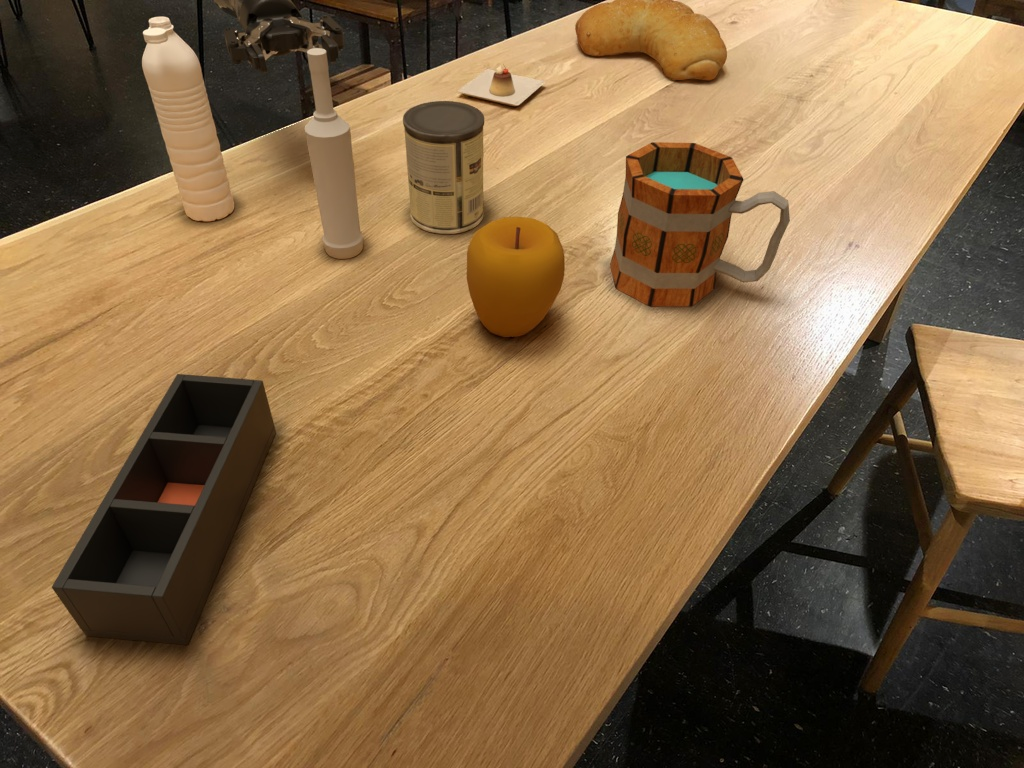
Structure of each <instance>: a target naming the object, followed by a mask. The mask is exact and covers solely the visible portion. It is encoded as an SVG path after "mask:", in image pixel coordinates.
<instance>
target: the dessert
mask: <svg viewBox="0 0 1024 768" xmlns="http://www.w3.org/2000/svg"><path fill="white" fill-rule="evenodd" d="M502 65H503V66H504V68H503V67H502ZM502 65H498V67H496V68H495V69H491V68H486V69H484V70H483V71H481V73H479V74H478V75H476V76H475V77H474V78H473V79H471V80H469V81H468V82H467V83H465V84H464V85H463V86H462V87H460V88H459V89H458V90H457V91H456V92H457V93H459V94H462V95H464V96H467V97H471V98H475V99H480V100H483V101H488V102H493V103H497V104H501V105H505V106H511V107H518V106H520V105H521V104H522V103H523V102H524V101H525V100H527V99H528V98H529V97H530V96H532V94H534V93H535V92H536V91H537V90H538V89H539V88H541V87H542V86H543V85H544V84H545V83H546V82H547V81H546V80H542V79H537V78H533V77H528V76H524V75H519V74H514V73H511V72H510V71H509V69H508V68H506V67H505V64H504V63H503V64H502Z"/></svg>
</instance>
